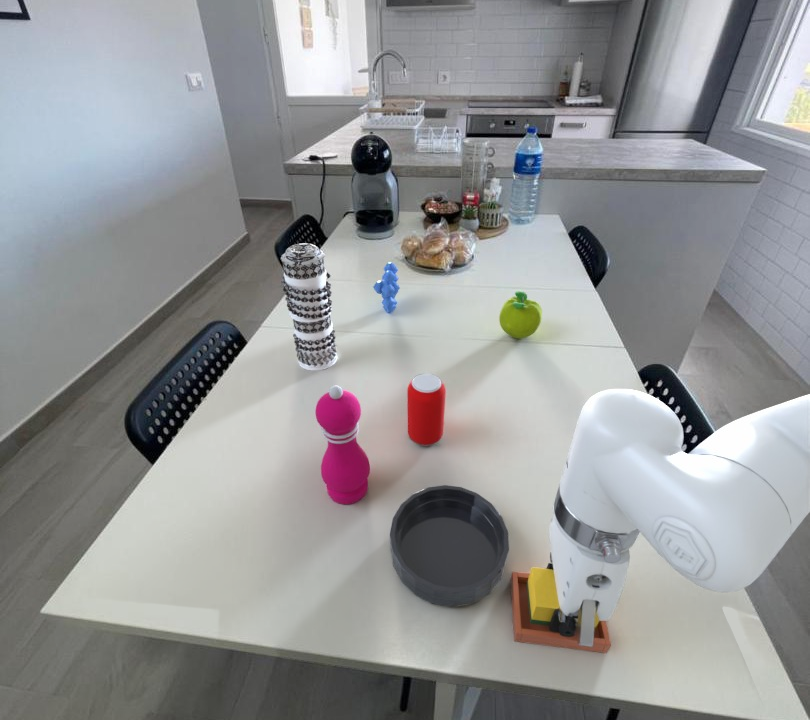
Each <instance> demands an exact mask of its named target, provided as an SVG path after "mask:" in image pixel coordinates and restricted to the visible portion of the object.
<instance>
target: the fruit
mask: <svg viewBox="0 0 810 720" xmlns="http://www.w3.org/2000/svg"><path fill="white" fill-rule="evenodd" d="M514 295H515V296H512V297H510V298H509V299H507V300H506V301H505V302H504V303H503V305H502V307H501V309H500V311H499V316H498V318H499V320H498V321H499V325H500V327H501V329H502V331H504V332H505V333H506V334H507V335H508V336H509V337H511V338H514V339H518V340H521V339H524V338H528V337H530V336H532V335H533V334H534V333H535V332H536V331H537V330H538V328H539V327H540V325H541V324H542V319H543V309H542V306H541V305H540V303H539V302H538V301H536V300H532V299H529V298H528V294H527V293H526V292H524V291H522V290H517V291H515V292H514Z"/></svg>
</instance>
